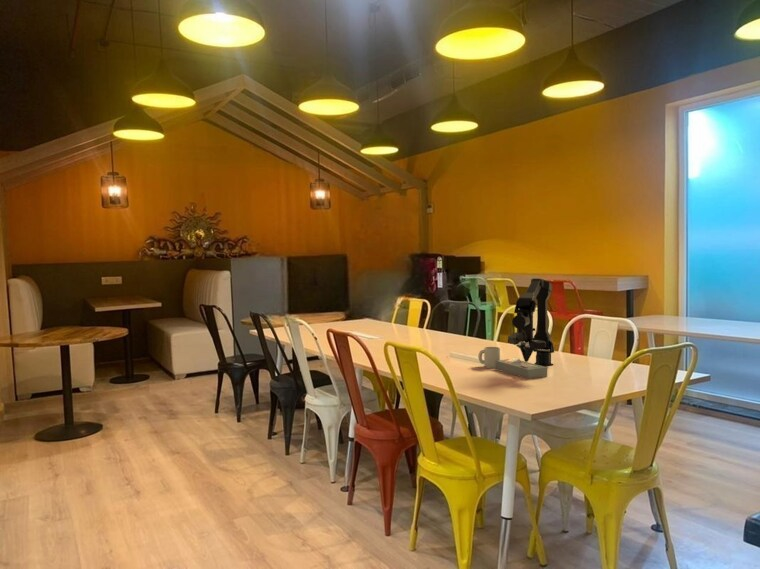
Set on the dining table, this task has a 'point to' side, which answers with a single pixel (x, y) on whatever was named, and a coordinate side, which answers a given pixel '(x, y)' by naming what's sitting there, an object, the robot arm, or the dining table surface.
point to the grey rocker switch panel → (521, 369)
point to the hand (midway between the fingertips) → (526, 361)
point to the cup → (489, 356)
